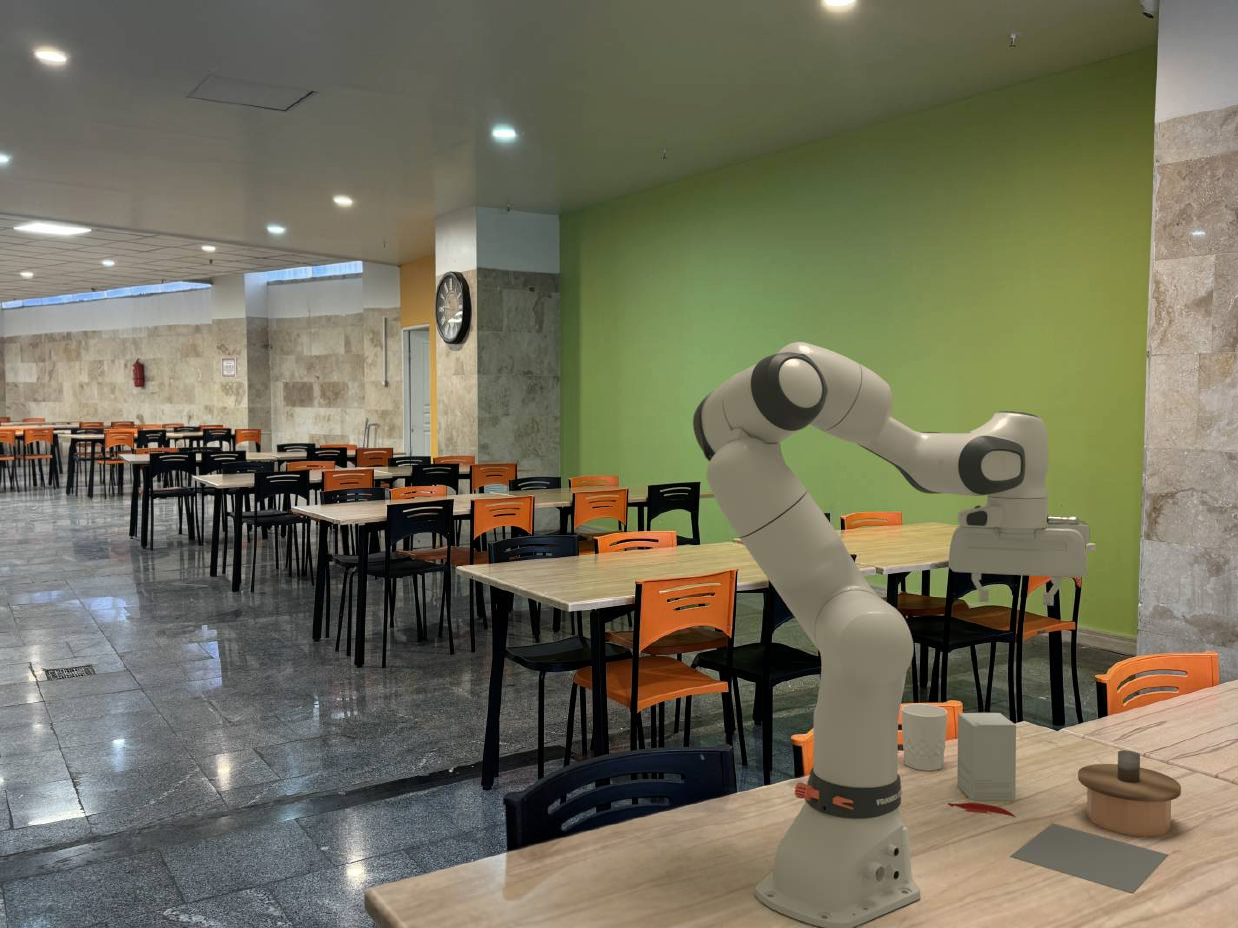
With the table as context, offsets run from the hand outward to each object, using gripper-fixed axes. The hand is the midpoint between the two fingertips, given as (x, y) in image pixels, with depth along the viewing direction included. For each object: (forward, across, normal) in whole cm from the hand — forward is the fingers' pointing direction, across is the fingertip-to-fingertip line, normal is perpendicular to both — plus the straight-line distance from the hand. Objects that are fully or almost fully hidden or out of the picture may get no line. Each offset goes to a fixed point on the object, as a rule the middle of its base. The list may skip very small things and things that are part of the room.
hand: (1015, 602), depth 156 cm
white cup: (+33, +14, -17) cm, 40 cm away
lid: (+27, -16, 0) cm, 32 cm away
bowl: (+33, -16, 0) cm, 37 cm away
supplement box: (+33, +4, -6) cm, 34 cm away
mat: (+33, -10, +15) cm, 38 cm away
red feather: (+34, +4, +3) cm, 34 cm away
